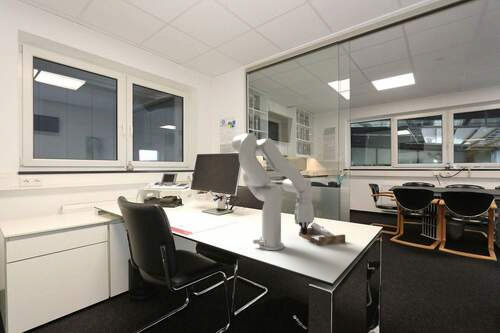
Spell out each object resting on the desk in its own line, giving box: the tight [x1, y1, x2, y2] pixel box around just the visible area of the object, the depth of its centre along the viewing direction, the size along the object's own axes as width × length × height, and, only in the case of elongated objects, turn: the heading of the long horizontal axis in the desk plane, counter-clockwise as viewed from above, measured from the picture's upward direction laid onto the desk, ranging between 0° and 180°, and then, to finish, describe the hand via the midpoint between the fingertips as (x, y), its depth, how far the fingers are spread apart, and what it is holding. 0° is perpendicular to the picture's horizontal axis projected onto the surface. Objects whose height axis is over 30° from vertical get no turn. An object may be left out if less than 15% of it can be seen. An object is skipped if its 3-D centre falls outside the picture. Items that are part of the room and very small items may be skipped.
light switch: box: [309, 221, 334, 237], centre depth 131 cm, size 8×6×14 cm
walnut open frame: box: [298, 226, 346, 246], centre depth 130 cm, size 17×19×4 cm
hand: (304, 234), depth 126 cm, fingers closed
